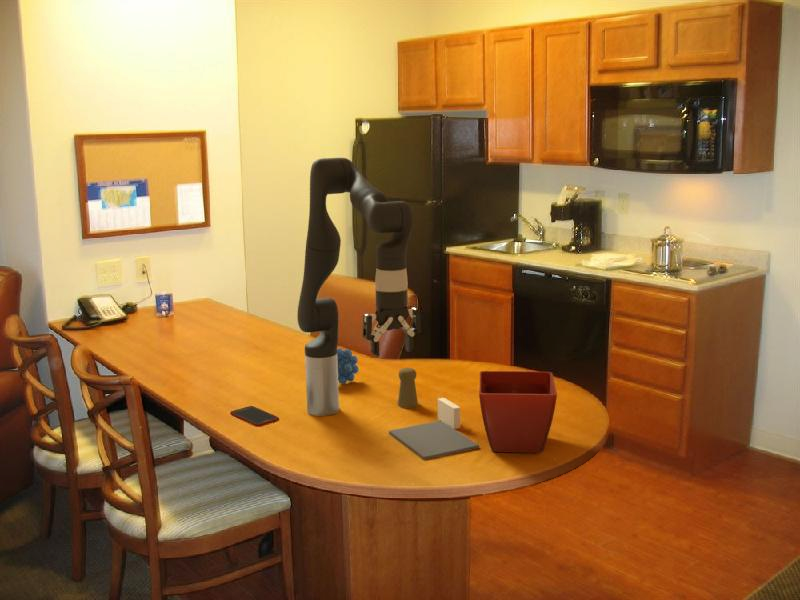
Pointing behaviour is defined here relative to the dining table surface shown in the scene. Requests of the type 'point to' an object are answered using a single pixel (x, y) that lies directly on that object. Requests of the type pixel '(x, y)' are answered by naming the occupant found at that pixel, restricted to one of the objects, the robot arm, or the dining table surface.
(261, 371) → the dining table surface
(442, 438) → the mat
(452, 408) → the card box
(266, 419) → the cell phone
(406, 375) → the cork
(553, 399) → the plant pot
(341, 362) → the grapes
